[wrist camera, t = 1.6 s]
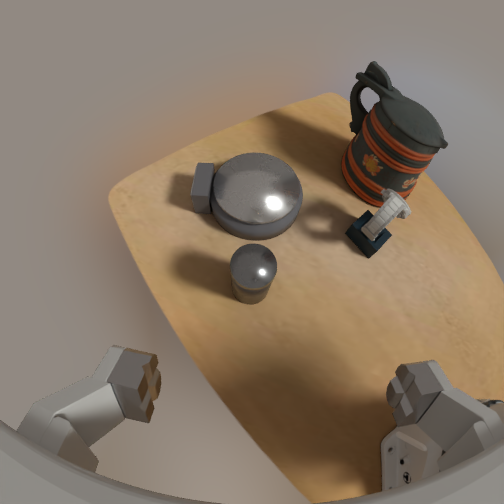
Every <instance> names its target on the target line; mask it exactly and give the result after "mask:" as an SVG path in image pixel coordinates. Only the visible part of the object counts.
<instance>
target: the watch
mask: <svg viewBox="0 0 504 504" xmlns="http://www.w3.org/2000/svg"><path fill="white" fill-rule="evenodd" d="M381 193H382V194H383V196H382V198H383V200H384V204H383V205H382V206H381V208H380V209H379V210H378V211H379V212H378V211H377V212H376V214H375V215H373V214H372V213H371V212H370V211H369V210H367V211H366V212H365V213H364V214H363V215H362V216H361V217H360V218H358V219H357V220H356V221H355V222H354V223H353V224H352V225H351V226H350V228H349V229H348V230H347V232H346V233H345V234H346V235H347V236H348V237H349V238H350V239H351V240H352V241H353V242H354V243H355V244H356V245H357V246H358V248H359V249H360V250H361V251H362V252H363V253H364V254H365V255H366V256H367V257H368V259H369V258H370V257H371V256H372V255H373V254H375V253H376V252H377V251H378V250H379V249H380V248H381V247H382V245H383V244H384V243H385V242H386V241H387V240H388V239H389V238H390V237H391V236H392V235H391V234H390V232H389V231H388V230H387V229H386V228H385V227H386V226H387V225H388V224H389V223H390V222H391V221H392V220H393V219H394V218H395V217H397V218H402V219H405V218H406V217H407V216H408V215H410V214H411V210H410V208H409V206H408V204H407V203H406V202H405V200H404V199H403V198H402V197H401V196H400V195H399V194H398V193H396V192H395V191H393V190H392V189H387V190H385V189H383V190H382V191H381Z"/></svg>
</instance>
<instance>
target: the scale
mask: <svg viewBox="0 0 504 504" xmlns="http://www.w3.org/2000/svg"><path fill="white" fill-rule="evenodd" d="M217 172H218V171H217ZM217 172H216V173H217ZM216 173H214V163H198V164H197V166H196V170H195V174H194V179H193V184H192V188H191V193H190V194H191V198H192V202H193V206H194V209H195V213H203V214H211V209H212V212H213V215H214V217H215V219H216V220H217V222H218V223H219V224H220V226H221V227H223V228H224V229H225V230H226V231H227V232H229V233H230V234H232V235H234V236H237V237H239V238H242V239H246V240H267V239H271V238H274V237H276V236H278V235H280V234H282V233H284V232H285V231H286V230H287V229H288V228H289V227H290V226H291V225H292V224H293V223H294V221H295V219H296V217H297V214H298V212H299V209H300V206H301V204H302V199H303V192H302V187H301V184H300V181H299V179H298V181H299V185H300V194H299V198H298V201H297V203H296V205H295V207H294V209H293V210H292V211H291V212H290V213H289V214H288V215H287V216H286V217H284V218H283V219H281V220H279V221H277V222H274V223H270V224H265V225H252V224H246V223H242V222H240V221H237V220H235V219H233V218H231V217H230V216H228V215H227V214H226V213H225V212H224V211H223V210H222V209H221V208H220V206H219V205H218V203H217V201H216V199H215V195H214V187H213V185H214V179H215V176H216Z"/></svg>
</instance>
